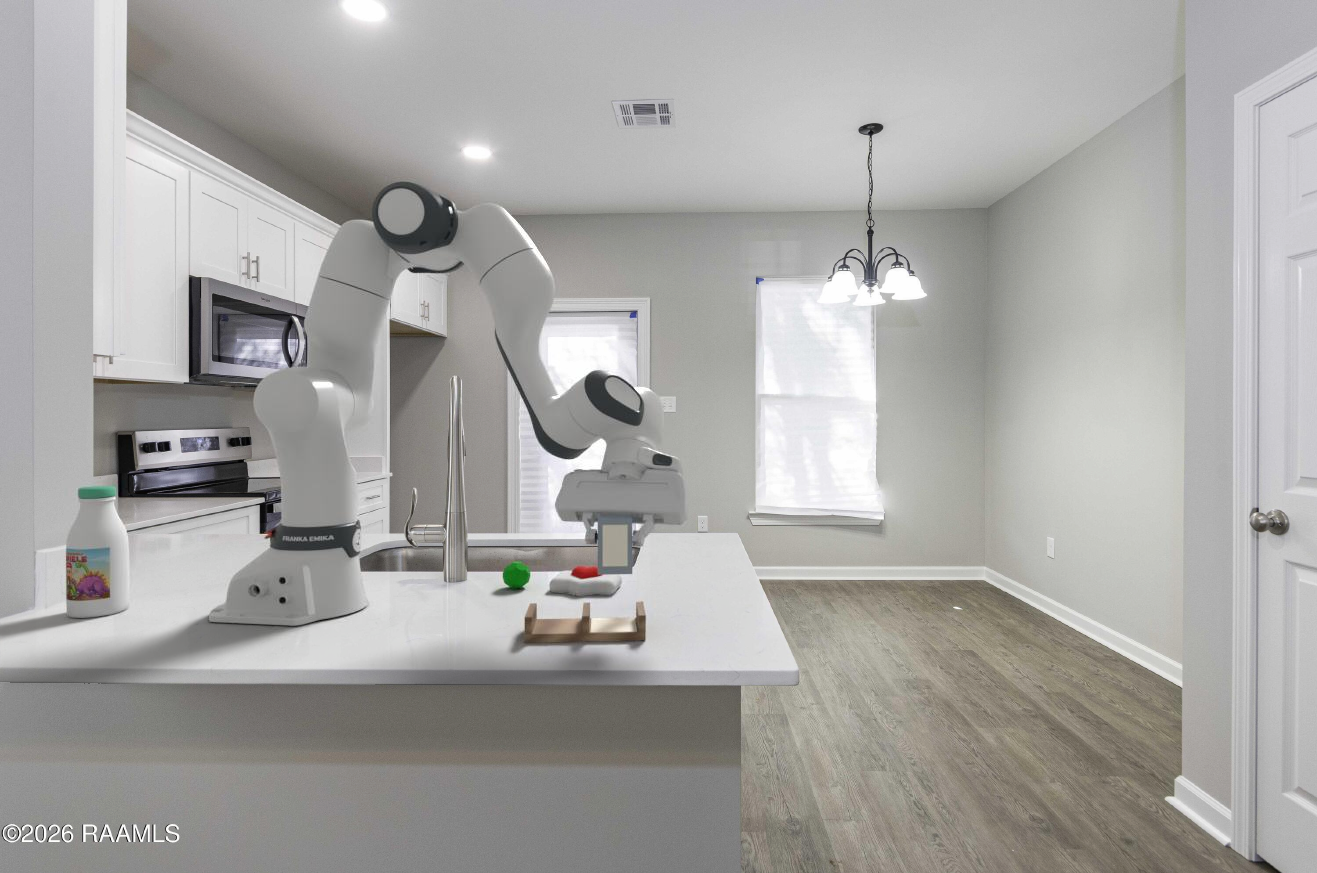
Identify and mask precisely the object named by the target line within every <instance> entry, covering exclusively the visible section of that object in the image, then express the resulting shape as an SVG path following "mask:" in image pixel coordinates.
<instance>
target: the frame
mask: <svg viewBox="0 0 1317 873" xmlns="http://www.w3.org/2000/svg"><path fill="white" fill-rule="evenodd" d="M597 533H598V540H597V567H598V575H610V574H619V575H632V574H633V543H632V536H633V524H632V516H598V522H597Z"/></svg>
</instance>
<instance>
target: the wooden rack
mask: <svg viewBox="0 0 1317 873" xmlns="http://www.w3.org/2000/svg"><path fill="white" fill-rule="evenodd" d="M635 606H636V607H635V608H636V609H635V617H596V618H595V617H591V602H583V605H582V613H581V614H582V616H581V617H580V618H579V617H578V618H538V616H537V615H538V605H537V602H536V603H535V602H534V603H529V605H528V607H527V610H526V613H525V615H524V643H525V644H529V643H530V644H531V643H532V644H533V643H534V644H535V643H536V644H537V643H585V642H586V641H593V642H629V641H630V642H633V640H646V639H647V638H646V635H647V634H646V632H647V631H646V628H647V627H646V622H647V617H646V616H647V615H646V610H645V609H646V608H645V606H644V602H643V601H636V603H635Z"/></svg>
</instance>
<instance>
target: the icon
mask: <svg viewBox="0 0 1317 873" xmlns="http://www.w3.org/2000/svg"><path fill="white" fill-rule="evenodd" d="M622 582H623V578H622V576H621V574H610V575H598V566H590V567H589V566H588V567H586V566H583V565H578V566H576V567H575V568H573V569H572V570H562V571H561V572H559V574H557V575H556V576H555V577H553V578H552V579H551V580H550V582H549V585H548V586H549V590H550V591H551V592H552V593H553V592H560V593H559V594H568V593H570V594H569V595H572V594H574V595H573V596H575V595H576V597H586V596H585V595H587V596H592V595H591V594H600V595H599V596H612V595H614V594H615V592H616V591H617V590H618V588H619V587H621V585H622ZM561 592H562V593H561ZM611 594H612V595H611Z"/></svg>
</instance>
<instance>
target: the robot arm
mask: <svg viewBox="0 0 1317 873" xmlns="http://www.w3.org/2000/svg"><path fill="white" fill-rule="evenodd" d="M372 204H373V205H372V208H371V217H372V219H371V220H372V221H371V220H367V219H351V220H347V221H345V222H344V223H342V225H340V227H339V228H338V229H337V231H336V233H335V234H334V235H333V236H334V237H333V238H332V240H331V242H330V245H329V246H328V249H327V250H326V252H325V255H324V258H323V260H322V262H321V265H320V268H319V272H318V274H317V278H316V281H315V284H314V287H313V290H312V294H311V298H310V301H309V304H308V307H307V311H306V313H305V317H304V322H303V327H304V328H303V329H304V331H305V334H306V336H307V338H306V339H307V359H306V360H307V362H306V366H291V367H288V368H283V369H280V370H277V371H273V372H271V373H270V374H268V375H266V376H265V377H264V378H262V380H261V381H260V382H259V383H258V385H257V386H256V388H255V391H254V395H253V400H252V401H253V409H254V413H255V416H256V417H257V419H258V420H259V422H260V423H261V424H262V425H263V427H264V428H265V429H266V430H267V432H268V435H269V438H270V440H271V444H272V446H273V451H274V455H275V458H276V462H277V465H278V471H279V475H280V476H279V479H280V496H281V497H280V499H281V500H280V502H281V503H280V504H281V506H280V507H281V508H280V509H281V510H280V511H281V523H279V524H278V525H276V526H274V527H272V528H270V530H267V531H265V532H264V534H267V535H265V536H264V539H265V540H267V539H269V547H268V548H267V549H266V550H265V551H263V552H262V553H260V555H258V556H257V557H255V558H253V560H252V561H250V562H249V563H247V564H246V565H245V566H244V567H242V568H241V569H240V570H237V572H235V573H234V575H233V576H232V577H231V580H230V581H229V584H228V588H227V592H226V599H225V602H223V603H221V604H219V605H217V606H216V607H214V608H213V609H211V611H210V612H209V614H208V621H209V622H211V623H212V622H213V623H231V624H250V625H252V624H253V625H272V626H273V625H274V626H291V627H292V626H301V625H306V624H310V623H313V622H316V621H320V620H321V621H322V620H326V619H332V618H337V617H341V616H346V615H349V614H352V613H355V612H359V611H361V610H362V609H364V608H366V607H367V606H368V605H369V602H370V601H369V599H368V597H367V593H366V589H365V587H364V582H363V576H362V569H361V564H360V563H361V562H360V553H361V548H362V531H361V520H359V519H358V474H357V471H356V469H355V467H354V466H353V464H352V461H351V459H350V454H349V453H348V452H349V451H348V448H347V447H348V446H347V443H346V439H345V435H351V434H352V433H353V432H355V431H357V430H359V429H361V428H362V427H363V426H365V425H366V424H368V422H369V421H370V419H371V418H372V416H373V413H374V410H375V408H374V407H375V401H374V396H373V383H374V371H375V361H376V360H375V359H376V354H377V353H376V352H377V349H378V348H377V347H378V342H379V338H380V335H381V332H382V328H383V325H384V322H385V318H386V315H387V311H388V307H389V305H390V301H391V298H392V296H393V292H394V288H395V286H396V285H395V284H396V283H397V279H398V277H399V276H400V275H401V274H402V273H403V272H404V271H405V270H408V271H409V272H410V273H412V274H449V273H452V272H455V271H458V270H459V269H461V268H462V267H463V266H466V267H467V268H468V270H469V272H471V274H472V275H473V277H474V278H475V281H476V282H477V284H478V285H479V287H480V288H481V290H482V291H483V294H484V295H485V298H486V300H487V302H488V304H489V308H490V310H491V314H492V317H493V323H494V338H495V342H496V345H497V348H498V350H499V352H500V354H501V357H502V359H503V361H504V363H505V366H506V367H507V369H508V372H509V374H510V376H511V378H512V380H513V382H514V384H515V386H516V388H517V391H518V392H519V395H520V398H521V399H522V401H523V403H524V405H525V408H526V410H527V412H528V414H529V418H530V421H531V424H532V428H533V431H534V432H533V433H534V436H535V437H536V440H537V442H538V444H539V445H540V446H541V447H542V449H543V450H544V451H545V452H547V453H548V454H550V455H551V456H553V457H556V458H558V459H562V460H575V459H577V458H579V457H580V456H581V455H583V454H584V453H585V452H586V451H587V450H588V449H589V448H590V447H592V446H593V444H595V443H596V442H598V441H600V440H603V441H604V442H605V445H606V447H605V452H604V455H603V460H602V462H601V467H600V469H594V468H593V469H582V468H580V469H579V468H577V469H574V470H573V471H571V472H568V473H566V474H565V475H564V477H563V480H562V483H561V487H560V489H559V491H558V494H557V496H556V499H555V501H554V502H555V503H554V507H555V512H556V513H557V516H558V517H559V519H560V520H561V521H562V522H573V523H575V522H576V523H583V525H584V528H585V536H584V541H585V543H586V545H598V528H593V527H594V526H595V523H598V516H632V525H634V524H636V525H642V526H641V527H640V528H639V529H638V530H637V529H634V530H633V529H632V547H644V545H645V540H646V539H645V538H647V537H648V536H649V535H650V533H651V532H653V530H654V529H655V525H664V526H665V525H666V526H667V525H668V526H669V525H672V526H681V525H683V524H684V523H685V522H687V520H688V513H689V512H688V511H689V510H688V509H689V508H688V507H689V504H688V496H687V490H686V485H685V484H686V483H685V479H684V471H683V466H682V463H681V461H680V458H678V457H677V456H673V455H670V454H666V453H663V452H660V451H659V449H660V447H661V445H662V443H663V437H664V430H665V411H664V407H663V403H662V400H661V398H660V396H658V395H657V394H656V392H654V391H653V390H651V389H649V388H648V387H647V388H646V387H643V386H633V385H632V384H631V383H629V382H628V381H626V379H624V378H622V377H621V376H619V375H617V374H615V373H613V372H611V371H608V370H602V369H596V370H595V369H594V370H592V371H590V372H589V373H587V374H586V375H584V377H582V378H581V379H579V380H578V381H576V382H575V383H574V384H573V385H572V386H571V387H570V388H569V389H568V390H566V391H564V393H562V394H561V395H559V393H558V391H557V389H556V387H555V385H554V383H553V381H552V378H551V376H550V374H549V372H548V370H547V368H546V366H545V363H544V362H543V360H542V357H541V353H540V338H541V334H542V329H543V327H544V324H545V322H546V320H547V318H548V316H549V313H550V311H551V309H552V308H553V304H554V301H555V295H556V294H555V293H556V291H555V290H556V283H555V279H554V277H553V273H552V271H551V269H550V268H551V267H549V265H548V263H547V262H546V260H545V259H544V257H543V256H542V254H541V252H540V250H539V249H538V248H537V246H536V245H535V243H534V241H532V239H531V238H530V236H529V235H528V233H527V232H526V231H525V230H524V228H522V226H521V225H520V224H519V223H518V222H517V220H516V219H515V218H514V217H513V216H512V215H511V214H510V213H509V212H508V211H507V210H506V209H505V208H504V207H503V206H501V205H499V204H497V203H492V202H487V203H486V202H484V203H479V204H476V205H474V206H471V207H470V208H469V209H468V208H467V209H466V210H464V211H463V210H462V211H461V210H459V209H457V206H456V204H455V203H454V202H453V201H452V200H450V199H448V198H446V197H445V196H443V195H441V194H438V193H437V192H435V191H434V190H432V189H430V188H428V187H426V186H424V185H421V184H419V183H415V182H410V181H397V182H392V183H390V184H389V185H386V186H385V187H383V188H382V189H381V190H380V191H379V192H378V194H377V195H376V197H375V199H374V200H373V203H372Z"/></svg>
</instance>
